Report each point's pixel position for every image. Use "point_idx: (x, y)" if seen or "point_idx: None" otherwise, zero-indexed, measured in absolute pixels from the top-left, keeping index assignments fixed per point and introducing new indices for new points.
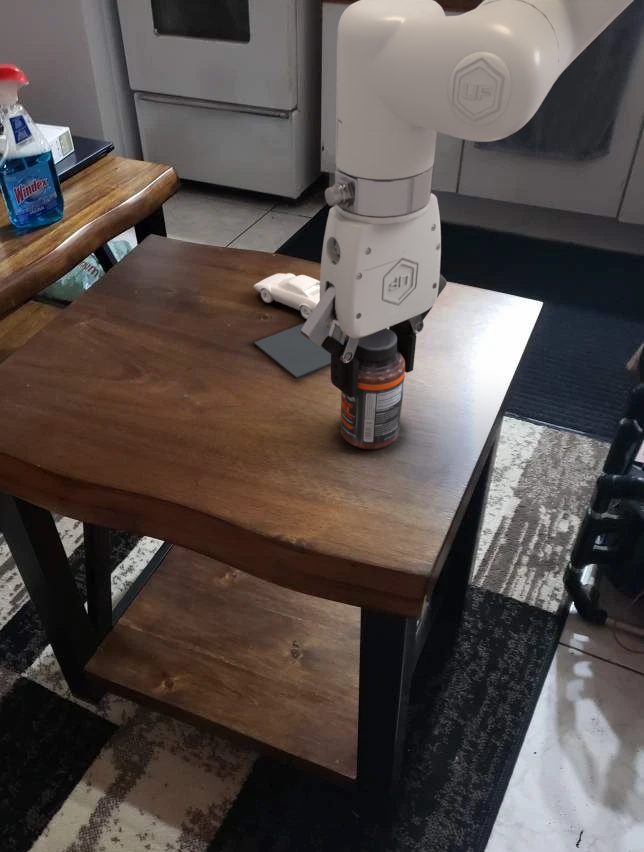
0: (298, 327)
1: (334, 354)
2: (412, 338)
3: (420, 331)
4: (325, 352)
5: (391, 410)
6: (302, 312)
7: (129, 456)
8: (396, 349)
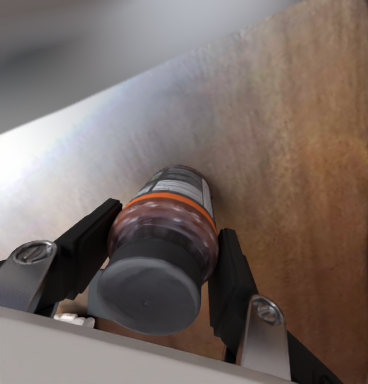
0: (107, 317)
1: (298, 342)
2: (74, 239)
3: (39, 240)
4: None
5: (180, 179)
6: (92, 327)
7: (328, 319)
8: (128, 243)
